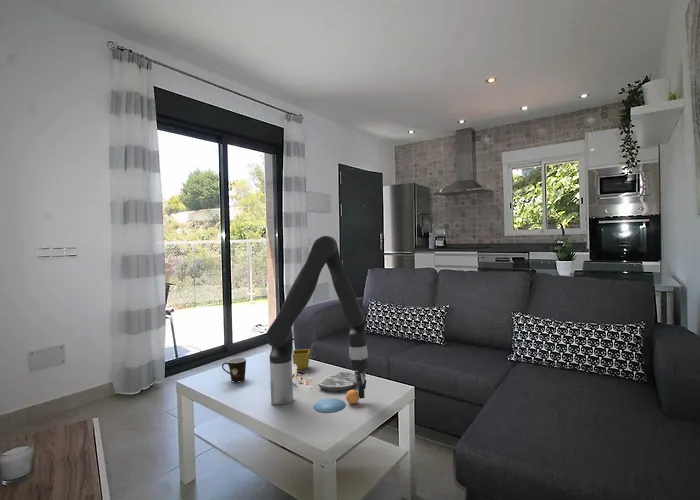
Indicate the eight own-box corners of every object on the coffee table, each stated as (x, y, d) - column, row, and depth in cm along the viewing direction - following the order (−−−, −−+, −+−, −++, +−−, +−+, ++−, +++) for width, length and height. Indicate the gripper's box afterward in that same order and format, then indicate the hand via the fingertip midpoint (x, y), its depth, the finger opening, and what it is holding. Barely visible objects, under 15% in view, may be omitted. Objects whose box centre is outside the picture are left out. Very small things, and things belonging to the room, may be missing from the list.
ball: (359, 406, 155) (346, 406, 154) (357, 400, 160) (344, 399, 159) (361, 394, 154) (347, 393, 153) (358, 387, 159) (345, 387, 159)
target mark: (314, 414, 148) (314, 413, 148) (312, 400, 161) (312, 400, 161) (347, 410, 150) (347, 410, 150) (342, 397, 163) (342, 397, 163)
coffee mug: (250, 378, 190) (249, 358, 190) (237, 384, 183) (236, 364, 183) (234, 375, 196) (234, 355, 196) (221, 380, 189) (220, 360, 189)
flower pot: (294, 366, 207) (293, 349, 207) (310, 365, 208) (309, 348, 208) (293, 371, 198) (292, 354, 198) (309, 370, 199) (309, 353, 199)
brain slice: (343, 397, 164) (343, 390, 164) (312, 390, 174) (312, 383, 173) (367, 382, 180) (366, 376, 180) (337, 376, 190) (337, 370, 190)
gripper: (347, 352, 163) (350, 393, 163) (352, 362, 150) (355, 405, 150) (364, 350, 164) (367, 390, 165) (371, 359, 151) (374, 402, 152)
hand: (361, 397), depth 157 cm, fingers closed
